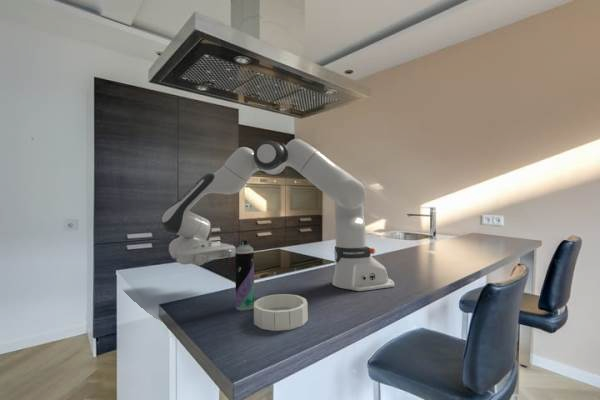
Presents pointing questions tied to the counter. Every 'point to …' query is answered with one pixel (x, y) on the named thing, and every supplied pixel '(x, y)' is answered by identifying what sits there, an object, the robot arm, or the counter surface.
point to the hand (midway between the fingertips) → (220, 256)
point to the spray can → (244, 276)
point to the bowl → (280, 312)
